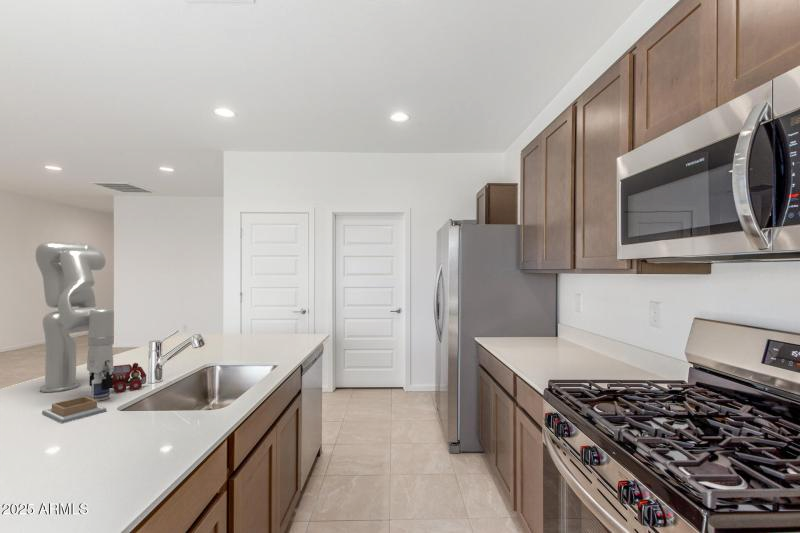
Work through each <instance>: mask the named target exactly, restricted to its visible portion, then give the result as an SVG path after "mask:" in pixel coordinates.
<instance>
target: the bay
mask: <svg viewBox="0 0 800 533" xmlns="http://www.w3.org/2000/svg"><path fill="white" fill-rule="evenodd" d="M105 412H106V413H107V408H106V407H104V406H102V405H101V406H100V405H98V401H97V400H94V399H91V397H88V396H87V395H86V396H81V397H77V398H71V399H66V400H63V401H58V402H55V403H52V404H51V408H48V409H44V410H42V411H41V414H42V415H44V416H46V417H48V418H49V419H51V420H54V421H56V422H57V423H60V422H61V424H65V423H69V422H72V420H73V421H76V419H77V420H80V419H85V418H86V417H87V418H88V417H90V416H94V415H98V414H101V413H105ZM68 421H69V422H68ZM64 422H65V423H64Z"/></svg>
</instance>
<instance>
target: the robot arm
mask: <svg viewBox="0 0 800 533" xmlns="http://www.w3.org/2000/svg"><path fill="white" fill-rule="evenodd" d="M35 261H36V264H37V267H38V268H39V270H40V273H41V276H42V282H43V291H44V299H45V303H46V306H48V307H49V308H53V309H57V310H55V311H52V312H48V313H46V315H44V317H43V318H42V328H43V332H44V341H45V360H44V361H45V362H44V363H45V368H44V369H45V370H44V371H45V373H44V374H45V378H44V385H42V386H41V387H40V388H39V392H41V393H55V392H62V391H69V390H72V389H75V388H78V387H80V386H81V384H82V383H81V381H79V380H77V342H76V341H75V338H73V337H72V336H71V335H70V334H74V333H81V332H88V334H87V335H88V339H87V340H88V346H87V347H88V352H87V359H86V360H87V361H86V362H87V363H86V370H87V371H88V372H89V373H88V374H89V386H90V387H91V383H92V380H93V379H95V378H94V374H95V373H96V374H99V373H100V372H101V374H102V377H103V379H102V390H106V389H112V377H113V370H114V367H113V366H114V352H113V351H114V350H113V345H115V344H114V343H115V342H114V340H115V339H114V336H115V333H114V332H115V330H114V329H115V311H114V310H113V309H112V308H107V307H103V306H97V304H96V303H97V302H96V297H95V292H94V290H93V286H94V285H95V283H96V282H95V279H94V275H93V272H92V271H100V270H103V269H104V268H105V266H106V257H105V255H104V254H103V252H101V250H99V249H98V248H95V246H92V245H89V244H88V243H87V244H86V243H79V242H77V243H76V242H64V241H63V242H60V241H47V242H43V243H40V244H39V245H38V246H37V247H36V249H35ZM105 373H106V375H105Z"/></svg>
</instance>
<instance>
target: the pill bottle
mask: <svg viewBox="0 0 800 533" xmlns="http://www.w3.org/2000/svg"><path fill="white" fill-rule="evenodd" d="M105 375H106V373H105ZM94 378H95V379H93V380H92V383H91V386H90V387H91V394H90V396H91V397H90V398H91V399H94V400H97V402H98V401H99V402H100V400H101V401H104V400H107V399H109V398H110V396H111V395H110V389H111V388H110V389H106V390H102V379H103V377H102V374H101V372H100V373H99V374H96V373H95V374H94Z"/></svg>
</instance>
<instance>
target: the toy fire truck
mask: <svg viewBox="0 0 800 533" xmlns="http://www.w3.org/2000/svg"><path fill="white" fill-rule="evenodd" d="M113 367H114V370H113V377H112V388H111V390H112V389H113V391H114V392H115V393H118V394H121V393H123V392H125V391H127V390H126V389H127V387H129V388H130V390H131V391H138V390H139V389H141V388H142V386H143V385H146V383H147V374H146V372H145V370H144V369H143V367H142V366H140V365H139V363H137V362H134V363H133V364H132V365H131V364H120V365H119V364H118V365H113Z"/></svg>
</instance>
